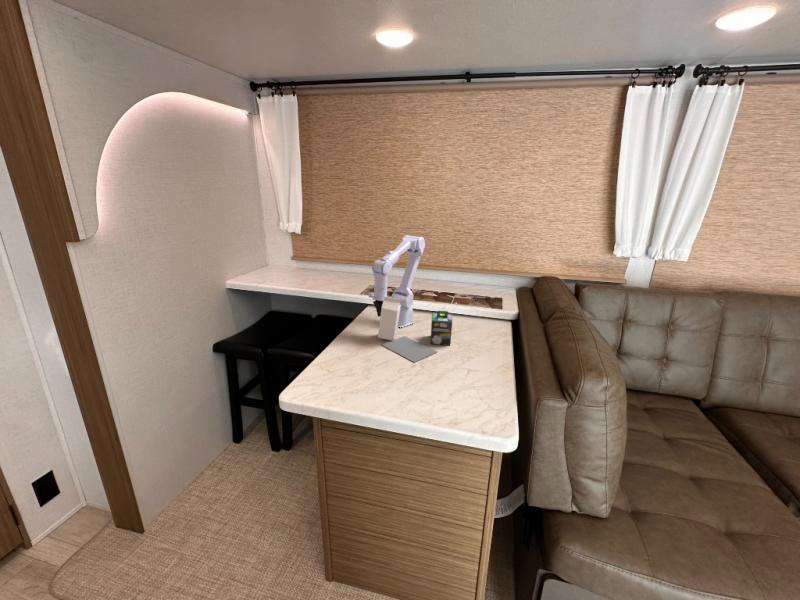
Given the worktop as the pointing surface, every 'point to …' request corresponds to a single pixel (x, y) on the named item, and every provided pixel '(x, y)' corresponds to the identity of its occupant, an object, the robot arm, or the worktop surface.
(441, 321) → the chalk box
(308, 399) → the worktop surface
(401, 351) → the mat
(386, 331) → the cream plain cuboid
